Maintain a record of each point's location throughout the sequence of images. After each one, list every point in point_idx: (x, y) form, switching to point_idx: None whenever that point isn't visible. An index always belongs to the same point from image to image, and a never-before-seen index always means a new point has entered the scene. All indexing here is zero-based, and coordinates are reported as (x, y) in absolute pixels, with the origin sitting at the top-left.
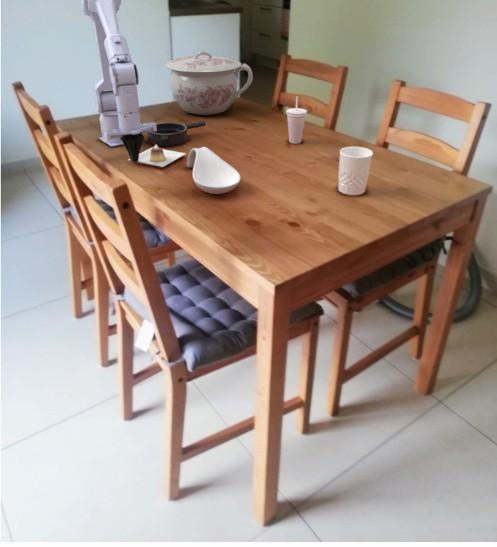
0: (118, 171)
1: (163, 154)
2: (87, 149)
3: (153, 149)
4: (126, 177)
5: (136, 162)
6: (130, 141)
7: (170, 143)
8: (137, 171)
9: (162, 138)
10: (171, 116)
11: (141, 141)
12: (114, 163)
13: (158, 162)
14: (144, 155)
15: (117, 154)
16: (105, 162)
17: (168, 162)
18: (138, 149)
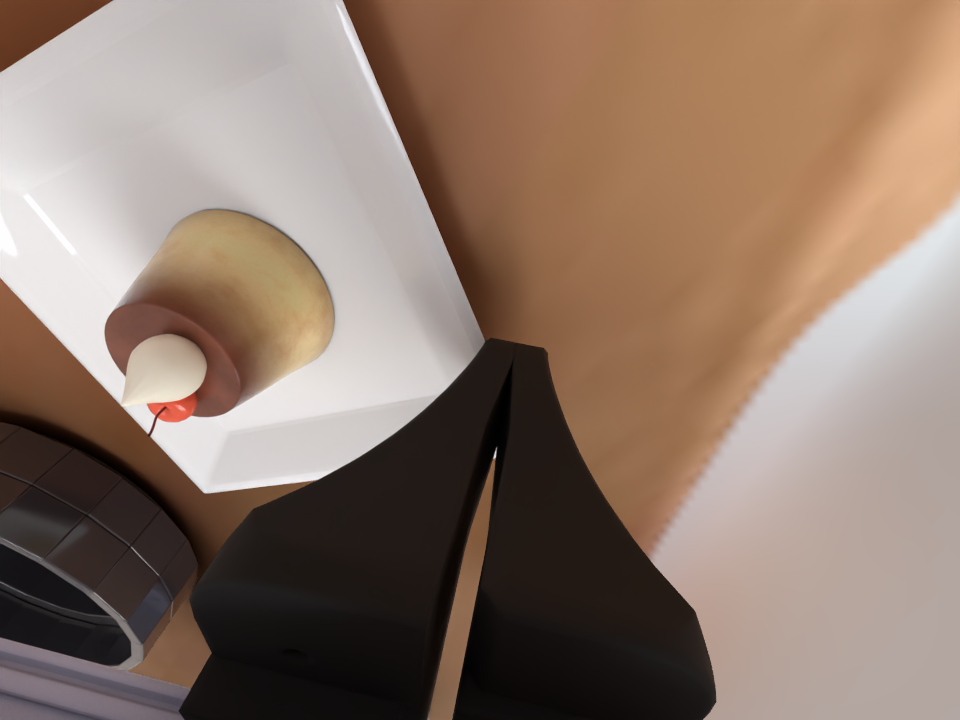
0: (767, 343)
1: (146, 266)
2: None
3: (214, 381)
4: (917, 92)
5: None
6: (631, 612)
7: (44, 453)
8: (623, 181)
9: (69, 523)
10: None
11: (334, 498)
12: (619, 498)
13: (273, 220)
14: (328, 436)
15: (476, 577)
16: (652, 551)
17: (162, 127)
18: (447, 421)
